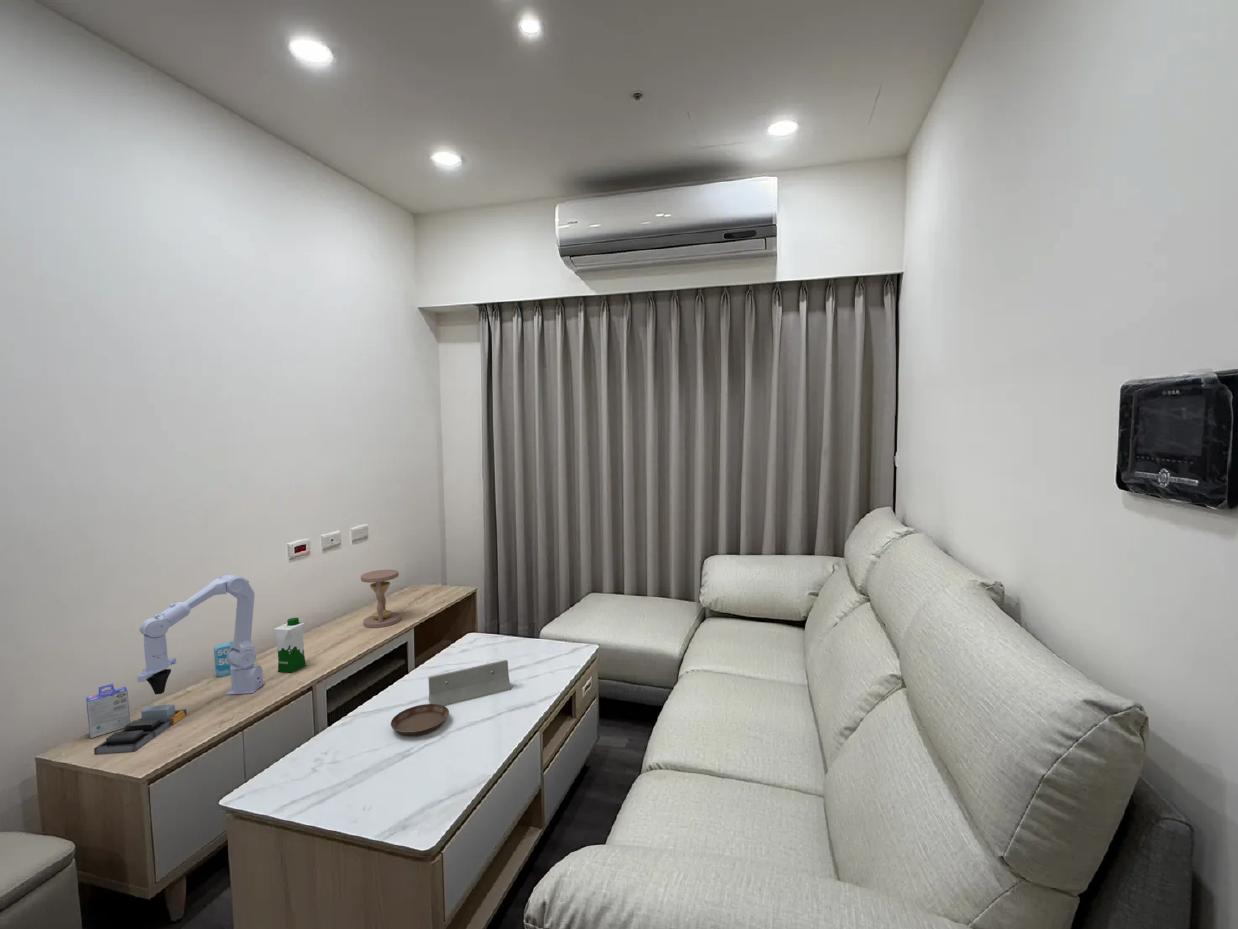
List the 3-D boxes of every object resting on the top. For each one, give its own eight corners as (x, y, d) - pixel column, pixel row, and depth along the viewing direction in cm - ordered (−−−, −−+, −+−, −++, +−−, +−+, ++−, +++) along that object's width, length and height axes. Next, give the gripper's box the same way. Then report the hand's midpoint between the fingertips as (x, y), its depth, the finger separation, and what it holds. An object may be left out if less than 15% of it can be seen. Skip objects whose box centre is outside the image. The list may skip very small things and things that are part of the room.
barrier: (505, 682, 204) (504, 656, 204) (511, 690, 198) (509, 663, 197) (428, 701, 192) (427, 673, 191) (431, 710, 186) (430, 681, 185)
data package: (216, 678, 216) (214, 648, 216) (215, 674, 220) (213, 645, 219) (252, 668, 224) (250, 640, 223) (251, 665, 227) (249, 637, 227)
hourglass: (370, 617, 285) (367, 570, 283) (405, 615, 287) (402, 568, 285) (358, 629, 267) (355, 579, 266) (395, 626, 269) (392, 577, 268)
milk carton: (309, 665, 226) (306, 617, 225) (291, 674, 217) (288, 625, 216) (292, 663, 228) (288, 616, 227) (273, 672, 219) (270, 624, 218)
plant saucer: (392, 718, 181) (391, 709, 180) (447, 707, 187) (447, 698, 186) (389, 746, 164) (389, 737, 164) (451, 733, 170) (450, 724, 170)
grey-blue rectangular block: (175, 718, 185) (174, 704, 185) (167, 724, 181) (166, 709, 181) (150, 720, 184) (149, 706, 184) (142, 726, 181) (141, 711, 181)
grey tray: (187, 714, 187) (187, 704, 187) (136, 751, 166) (135, 740, 165) (150, 716, 186) (149, 707, 186) (94, 754, 165) (93, 743, 164)
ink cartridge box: (129, 720, 184) (125, 679, 184) (131, 726, 181) (127, 683, 180) (88, 733, 177) (84, 690, 176) (90, 739, 173) (86, 695, 173)
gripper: (159, 646, 190) (163, 684, 190) (125, 663, 175) (129, 704, 176) (181, 645, 190) (184, 682, 191) (149, 662, 176) (152, 703, 177)
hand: (159, 693), depth 184 cm, fingers closed
